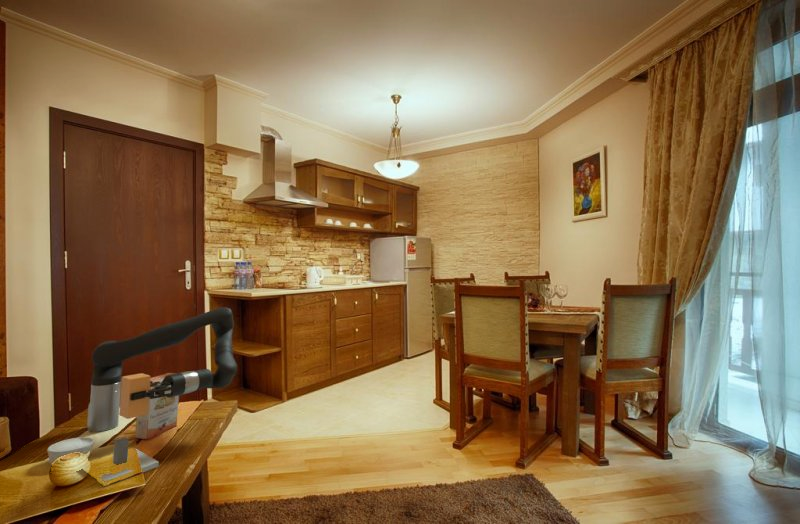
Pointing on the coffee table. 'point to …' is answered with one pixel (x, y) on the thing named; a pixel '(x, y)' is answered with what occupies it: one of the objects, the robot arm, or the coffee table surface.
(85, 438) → the ramekin
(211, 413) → the coffee table surface
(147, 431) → the cracker box
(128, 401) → the tan upright sponge
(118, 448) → the post stand
